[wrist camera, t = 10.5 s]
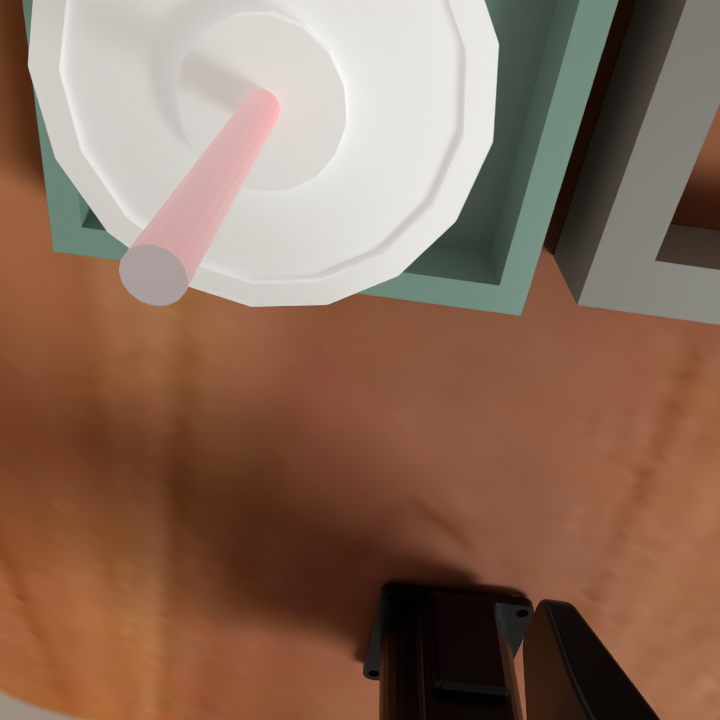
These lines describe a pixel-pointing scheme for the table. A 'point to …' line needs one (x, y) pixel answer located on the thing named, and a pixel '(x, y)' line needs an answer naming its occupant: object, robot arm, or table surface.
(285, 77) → the beverage cup
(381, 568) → the table surface
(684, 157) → the holder block
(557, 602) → the robot arm
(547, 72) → the tray
